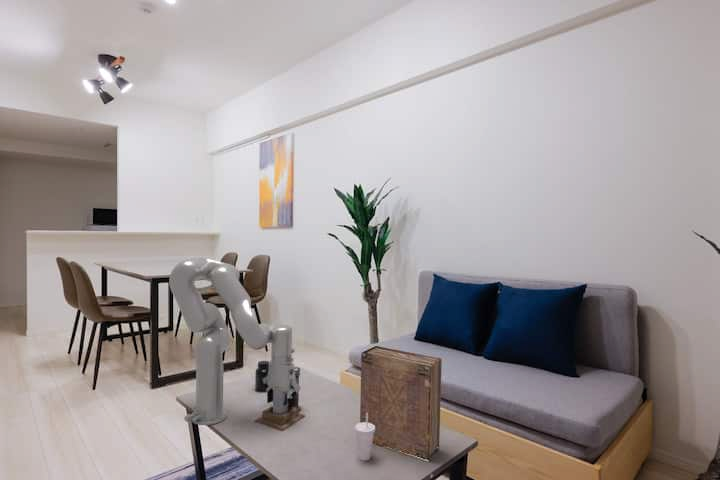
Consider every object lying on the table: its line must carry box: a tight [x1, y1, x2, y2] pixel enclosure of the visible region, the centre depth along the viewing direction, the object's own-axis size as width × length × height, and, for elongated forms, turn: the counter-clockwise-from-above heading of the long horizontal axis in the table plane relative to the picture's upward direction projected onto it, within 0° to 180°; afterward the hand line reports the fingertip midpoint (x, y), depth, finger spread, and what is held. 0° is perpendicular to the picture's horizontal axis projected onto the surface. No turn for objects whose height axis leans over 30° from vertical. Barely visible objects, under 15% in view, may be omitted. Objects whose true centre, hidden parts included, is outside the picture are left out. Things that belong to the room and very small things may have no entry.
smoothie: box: [354, 413, 375, 461], centre depth 128 cm, size 6×6×14 cm
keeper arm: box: [268, 360, 301, 377], centre depth 163 cm, size 15×3×3 cm, turn 61°
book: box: [359, 345, 443, 460], centre depth 136 cm, size 25×9×30 cm, turn 58°
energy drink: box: [272, 387, 289, 415], centre depth 152 cm, size 5×5×12 cm
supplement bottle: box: [254, 360, 270, 393], centre depth 180 cm, size 7×7×12 cm
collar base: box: [254, 375, 306, 432], centre depth 154 cm, size 18×13×14 cm
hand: (280, 404), depth 152 cm, fingers open, 9 cm apart
